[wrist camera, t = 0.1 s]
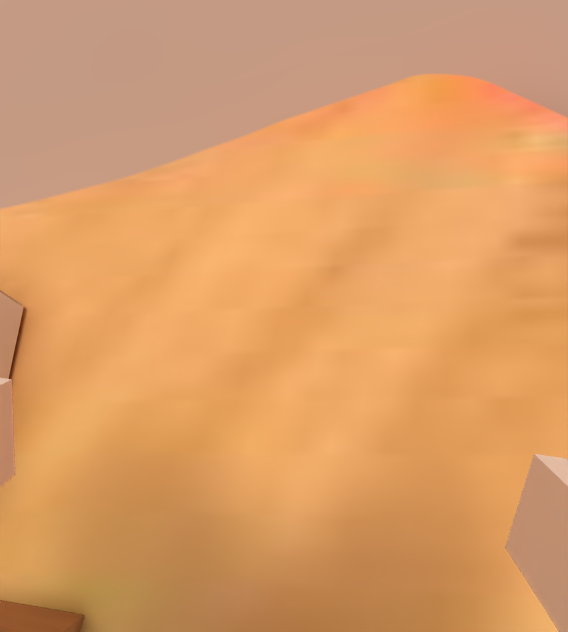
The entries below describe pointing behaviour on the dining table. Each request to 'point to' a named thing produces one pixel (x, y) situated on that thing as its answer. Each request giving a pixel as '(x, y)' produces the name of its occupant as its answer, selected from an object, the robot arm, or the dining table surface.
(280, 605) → the dining table surface
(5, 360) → the tea box
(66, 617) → the walnut cube
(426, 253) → the dining table surface
